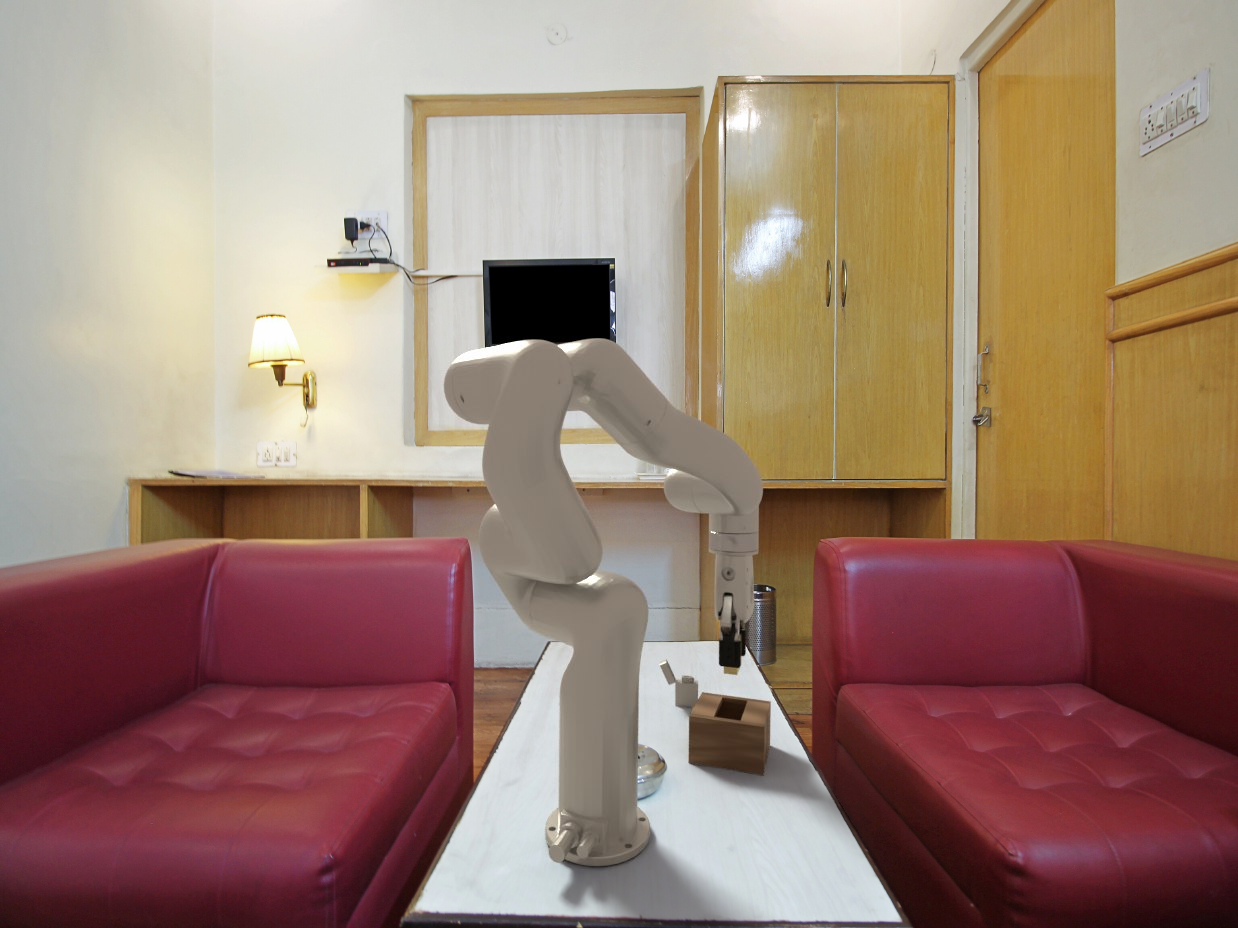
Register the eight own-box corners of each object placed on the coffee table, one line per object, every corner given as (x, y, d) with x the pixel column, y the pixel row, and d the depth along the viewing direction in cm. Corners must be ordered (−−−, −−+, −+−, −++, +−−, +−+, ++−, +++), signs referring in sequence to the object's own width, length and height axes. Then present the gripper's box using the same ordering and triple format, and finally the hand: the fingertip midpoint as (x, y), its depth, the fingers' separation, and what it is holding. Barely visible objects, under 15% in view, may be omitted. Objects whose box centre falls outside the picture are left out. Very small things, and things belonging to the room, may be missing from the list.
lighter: (698, 703, 115) (698, 660, 115) (697, 707, 113) (698, 663, 113) (659, 701, 116) (660, 658, 116) (659, 704, 114) (659, 661, 114)
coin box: (763, 775, 89) (764, 727, 89) (688, 762, 92) (689, 715, 92) (770, 745, 98) (770, 701, 98) (701, 734, 102) (702, 692, 102)
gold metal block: (737, 675, 93) (737, 641, 93) (723, 673, 93) (724, 640, 93) (741, 664, 97) (741, 632, 97) (728, 662, 98) (729, 631, 98)
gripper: (751, 552, 86) (750, 682, 86) (764, 537, 102) (763, 647, 102) (698, 549, 88) (697, 676, 88) (718, 534, 104) (717, 642, 105)
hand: (732, 659), depth 95 cm, fingers closed on gold metal block, 4 cm apart
